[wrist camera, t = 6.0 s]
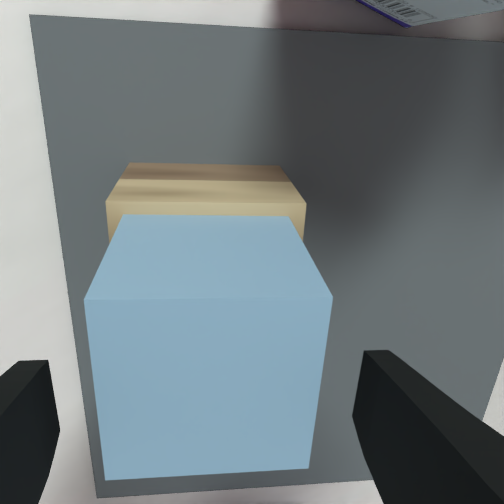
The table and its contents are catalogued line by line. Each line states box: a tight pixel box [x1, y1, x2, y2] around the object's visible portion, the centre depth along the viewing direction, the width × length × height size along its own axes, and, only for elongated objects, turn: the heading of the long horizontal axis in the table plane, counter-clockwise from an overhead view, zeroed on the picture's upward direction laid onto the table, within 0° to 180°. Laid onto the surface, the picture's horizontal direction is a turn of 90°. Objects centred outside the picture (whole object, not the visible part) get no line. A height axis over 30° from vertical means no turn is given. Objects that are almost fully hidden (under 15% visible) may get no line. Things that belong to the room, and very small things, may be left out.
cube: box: [84, 214, 333, 480], centre depth 12 cm, size 5×5×5 cm
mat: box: [29, 14, 504, 498], centre depth 21 cm, size 24×22×1 cm
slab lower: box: [120, 162, 291, 182], centre depth 18 cm, size 6×6×2 cm
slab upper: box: [105, 179, 307, 244], centre depth 16 cm, size 6×6×2 cm
